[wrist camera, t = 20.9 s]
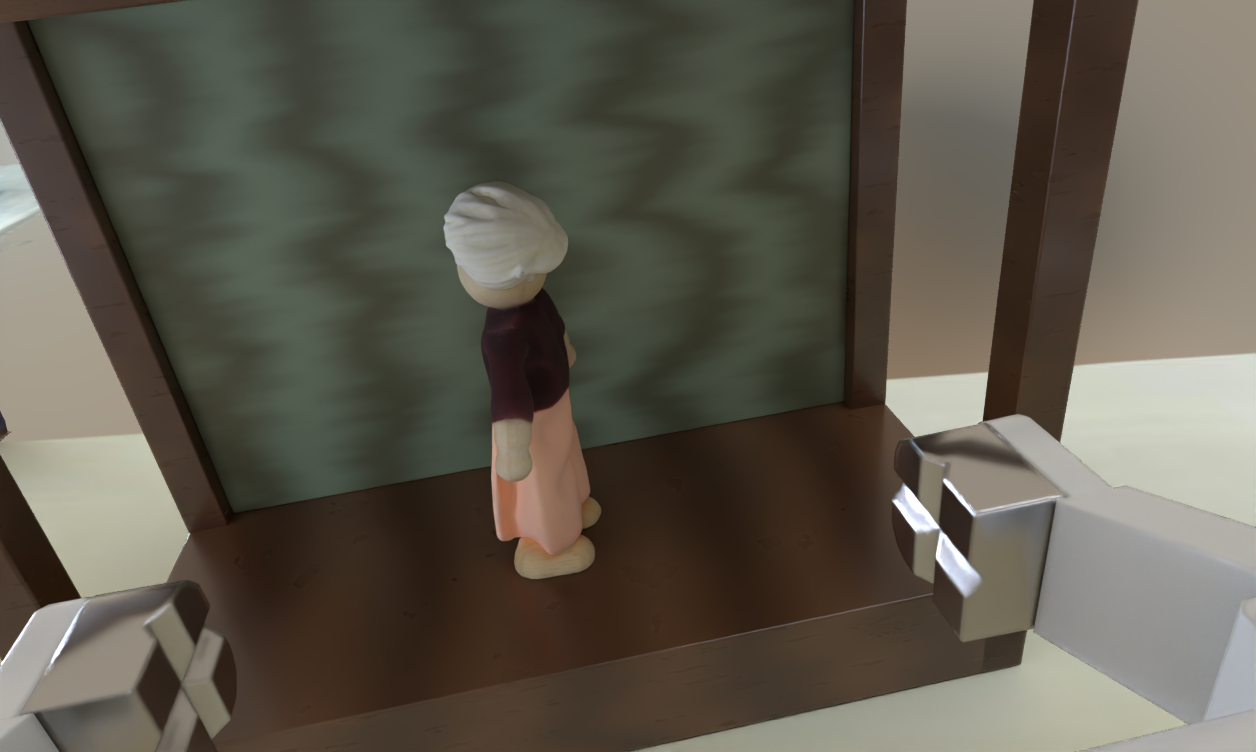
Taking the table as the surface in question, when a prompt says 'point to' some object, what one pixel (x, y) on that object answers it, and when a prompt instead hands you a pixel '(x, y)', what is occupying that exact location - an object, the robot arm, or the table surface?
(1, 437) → the flask
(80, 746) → the robot arm
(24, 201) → the table surface
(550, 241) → the grandmother figurine
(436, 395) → the shelf
